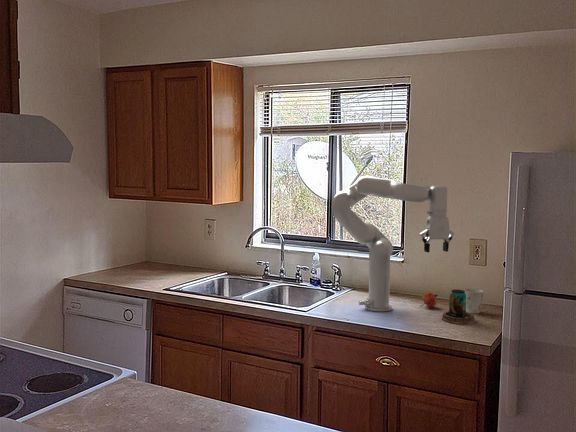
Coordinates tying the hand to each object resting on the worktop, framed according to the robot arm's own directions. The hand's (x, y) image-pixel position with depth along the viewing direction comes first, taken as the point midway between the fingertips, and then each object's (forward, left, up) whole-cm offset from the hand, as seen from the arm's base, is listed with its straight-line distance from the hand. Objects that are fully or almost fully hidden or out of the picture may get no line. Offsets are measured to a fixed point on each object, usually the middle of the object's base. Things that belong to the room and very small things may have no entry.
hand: (436, 251), depth 285 cm
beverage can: (+4, -12, -28) cm, 31 cm away
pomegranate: (+4, +11, -29) cm, 31 cm away
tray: (+4, -13, -28) cm, 31 cm away
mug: (+18, -1, -28) cm, 34 cm away
